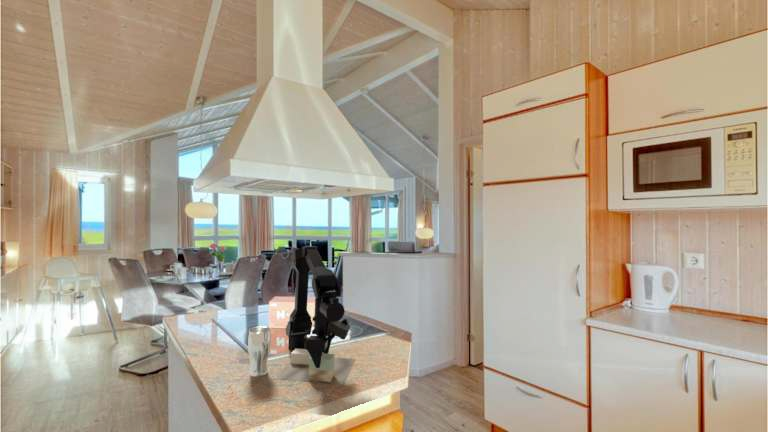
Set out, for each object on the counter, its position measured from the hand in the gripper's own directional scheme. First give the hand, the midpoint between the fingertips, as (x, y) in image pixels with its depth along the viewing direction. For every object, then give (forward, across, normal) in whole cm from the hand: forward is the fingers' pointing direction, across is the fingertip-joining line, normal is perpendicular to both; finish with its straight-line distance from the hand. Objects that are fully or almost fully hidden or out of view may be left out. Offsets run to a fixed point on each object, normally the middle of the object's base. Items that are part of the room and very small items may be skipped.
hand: (321, 361), depth 113 cm
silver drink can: (+6, 0, +21) cm, 22 cm away
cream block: (+5, +11, +10) cm, 16 cm away
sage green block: (+2, 0, 0) cm, 2 cm away
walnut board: (+6, +6, +3) cm, 9 cm away
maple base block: (+5, 0, 0) cm, 5 cm away
